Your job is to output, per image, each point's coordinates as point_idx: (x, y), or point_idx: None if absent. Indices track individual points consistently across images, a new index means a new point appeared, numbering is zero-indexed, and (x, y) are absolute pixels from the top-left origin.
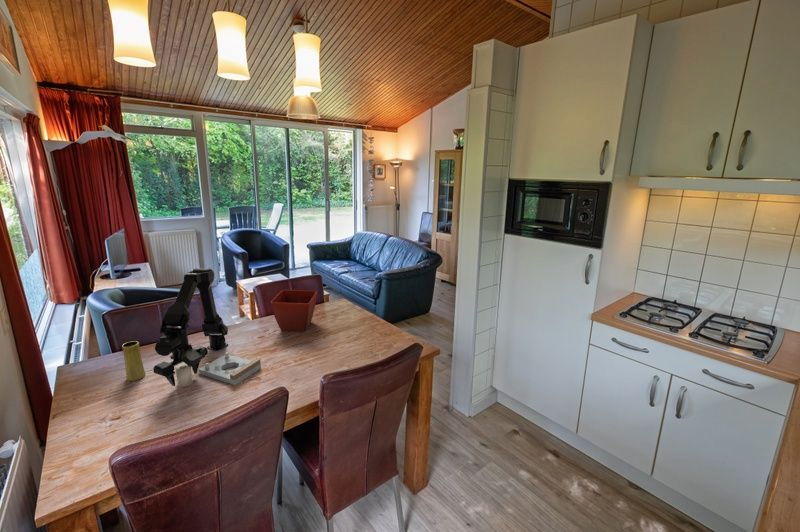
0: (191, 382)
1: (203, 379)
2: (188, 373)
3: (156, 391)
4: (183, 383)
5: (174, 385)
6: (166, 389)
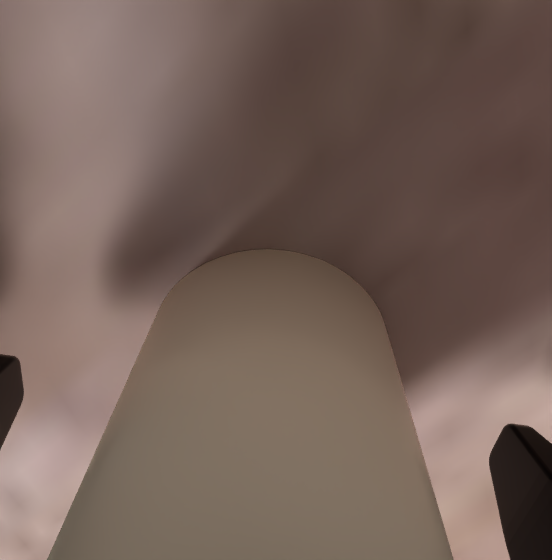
0: (237, 263)
1: (23, 127)
2: (280, 454)
3: None
4: (387, 345)
5: (529, 432)
6: (490, 472)
